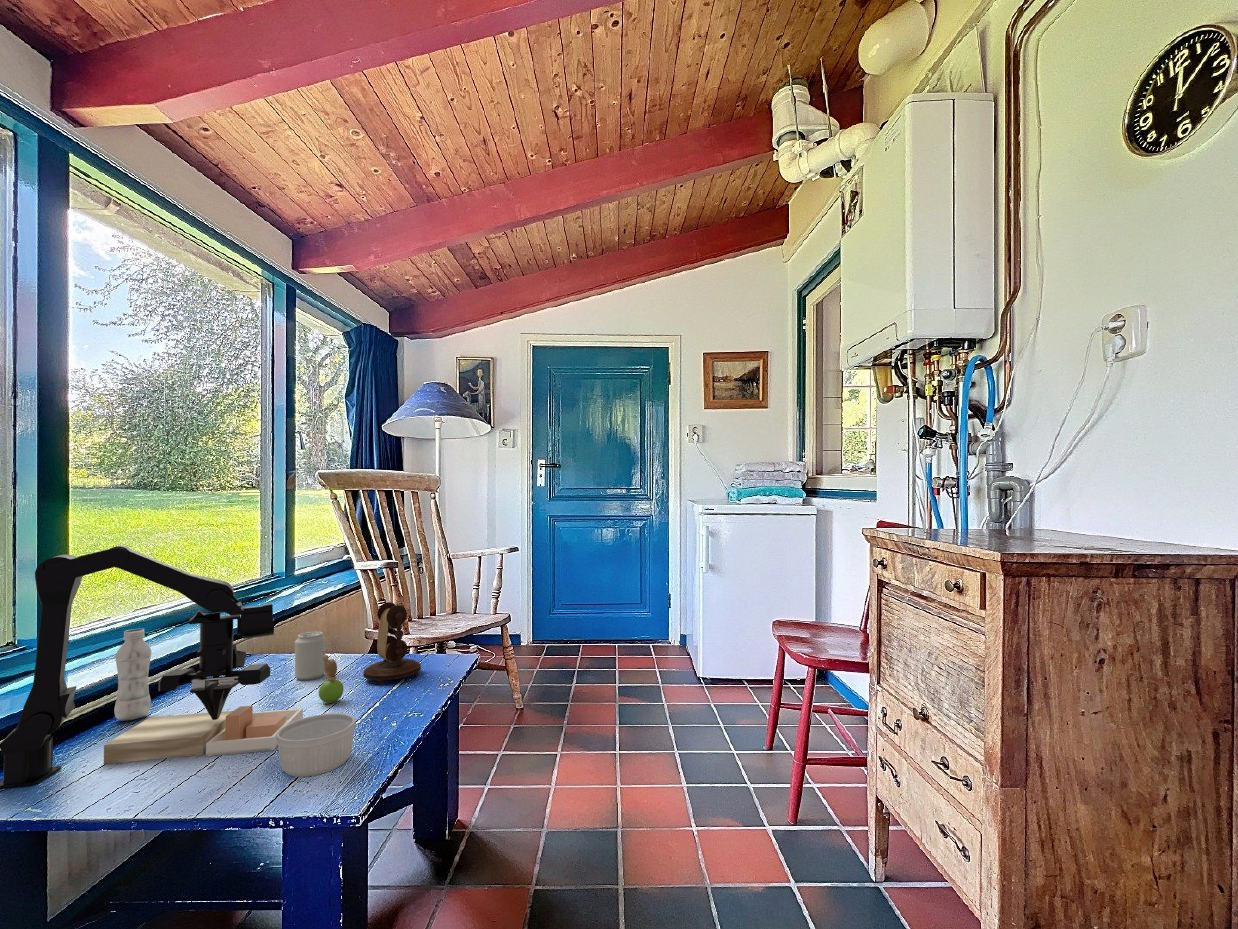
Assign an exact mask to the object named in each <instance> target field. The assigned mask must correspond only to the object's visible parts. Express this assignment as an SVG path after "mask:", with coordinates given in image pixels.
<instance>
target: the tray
mask: <svg viewBox="0 0 1238 929" xmlns="http://www.w3.org/2000/svg"><path fill="white" fill-rule="evenodd" d="M281 715H286V723H285V724H284V725H283V726H282V727H284V726H285V725H287V724H289V723H292V722H294V721H297V720H300V719H303V718H304V708H302V707H301V708H292V709H291V708H290V709H279V710H278V709H277V710H267V711H266V710H265V711H255V712H254V711H252V722H253V721H254V720H255V719H257V718H258V717H268V716H281ZM282 727H281V728H282ZM281 728H280V729H281ZM280 729H279V730H280ZM279 730H277V731H276V732H275V733H274V734H273V735H272V736H270V737H259V738H247V739H246V738H245V739H236V740H225V735H226V728H225V729H223V730H222V731H221V732H220V733H218V734H217V735H216V736H215V737H213V738H212V739H211V740H210V741H208V742H207V743H206V753H205V757H215V756H214V755H217V756H225V755H227V754H228V755H236V754H247V753H248V754H249V753H258V752H269V751H274V750H275V749H276V748H277V747H278V744H277V743H276V734H277V732H278V731H279Z"/></svg>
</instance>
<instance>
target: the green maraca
mask: <svg viewBox="0 0 1238 929" xmlns="http://www.w3.org/2000/svg"><path fill="white" fill-rule="evenodd" d="M322 652H323V666H324V672H325V673H324V675H325V677H326V679H327V680H325V681H324V682H323V683H322V684H321V685H320V687H319V690H318V698H319V699H320V700H321V702H323V703H326V704H332V703H336V702H337V701H338V700H340V699H341V698H342V696H343V693H344V691H345V690H344V684H342V682H341V681H340V680H338V679H337V676H336V675H337V672H338V663H337V662H336V660H335V659H334V658H330V657H329V655H327V654H325V655H324V652H325V653H327V652H328V649H325V651H324V650H323V651H322Z"/></svg>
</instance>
